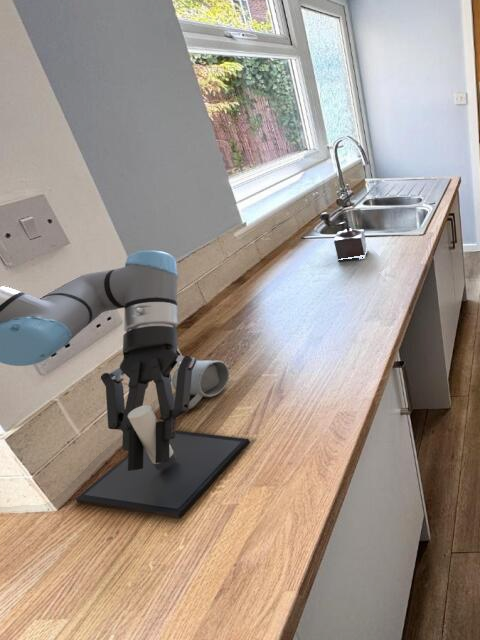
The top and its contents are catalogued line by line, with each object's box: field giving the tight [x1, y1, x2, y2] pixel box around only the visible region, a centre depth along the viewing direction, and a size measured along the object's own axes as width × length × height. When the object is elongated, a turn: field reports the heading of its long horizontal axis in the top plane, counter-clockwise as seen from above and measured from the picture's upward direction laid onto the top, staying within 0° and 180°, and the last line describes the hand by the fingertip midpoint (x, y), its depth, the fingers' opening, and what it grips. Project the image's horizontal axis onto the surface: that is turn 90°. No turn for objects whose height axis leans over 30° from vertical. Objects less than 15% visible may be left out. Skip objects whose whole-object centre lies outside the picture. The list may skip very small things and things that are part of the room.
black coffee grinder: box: [319, 211, 368, 263], centre depth 159 cm, size 16×11×18 cm
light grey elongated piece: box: [128, 404, 176, 470], centre depth 70 cm, size 3×3×12 cm
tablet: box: [75, 430, 250, 520], centre depth 73 cm, size 20×15×1 cm
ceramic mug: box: [171, 360, 230, 410], centre depth 89 cm, size 11×8×8 cm
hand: (149, 465), depth 67 cm, fingers closed on light grey elongated piece, 3 cm apart
